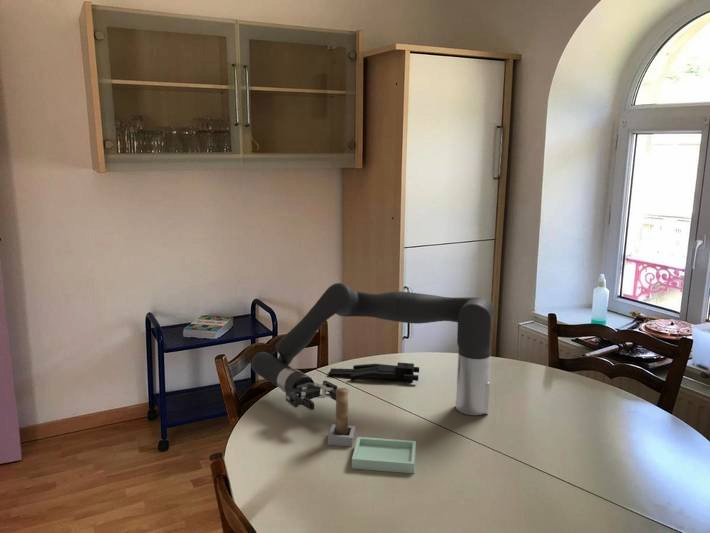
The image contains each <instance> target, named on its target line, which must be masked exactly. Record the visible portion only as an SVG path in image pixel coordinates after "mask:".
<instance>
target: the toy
mask: <svg viewBox="0 0 710 533" xmlns="http://www.w3.org/2000/svg"><path fill="white" fill-rule="evenodd" d="M414 373H419V374H420V366H415V363H413V362H412V363H411V362H409V363H407V362H397V365H391V364H385V363H384V364H382V363H381V364H380V363H365V364H354V365H353V366H352V368H330V370H329V373H328V377H329V378H341V377H342V378H341V379H343V378H345V379H350V381H351V382H352V381H359V380H363V379H365V380H366V379H370V378H378V379H379V378H380V379H381V378H382V379H395V380H396V381H395V382H397V383H409V384H411V383H413V381H415V382H419V375H418V374H414Z"/></svg>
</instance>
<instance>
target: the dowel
mask: <svg viewBox="0 0 710 533" xmlns="http://www.w3.org/2000/svg"><path fill="white" fill-rule="evenodd" d="M335 425H336V435H347V436H348V426H349V389H348V388H347V387H337V389H336V401H335Z"/></svg>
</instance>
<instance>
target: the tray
mask: <svg viewBox="0 0 710 533" xmlns="http://www.w3.org/2000/svg"><path fill="white" fill-rule="evenodd" d="M416 449H417V440H406V439H404V440H403V439H395V438H394V439H393V438H392V439H391V438H379V437H378V438H377V437H367V436H365V437H364V436H363V437H362V436H357V438H356V442H355V446H354V449H353V454H352V458H351V469H355V470H368V471H370V470H371V471H380V472H393V473H402V474H403V473H406V474H415V466H416V453H417V450H416Z"/></svg>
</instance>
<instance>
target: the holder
mask: <svg viewBox="0 0 710 533" xmlns="http://www.w3.org/2000/svg"><path fill="white" fill-rule="evenodd" d="M356 427H357V426H356V425H348V436H347V435H336V424H332V425H331V427H330V430H329V432H328V435H327V445H329V446H338V447H353V446H354V442H355V439H356V435H357V432H356V431H357V430H356V429H357V428H356Z"/></svg>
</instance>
